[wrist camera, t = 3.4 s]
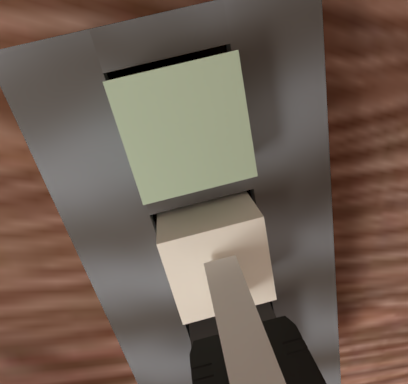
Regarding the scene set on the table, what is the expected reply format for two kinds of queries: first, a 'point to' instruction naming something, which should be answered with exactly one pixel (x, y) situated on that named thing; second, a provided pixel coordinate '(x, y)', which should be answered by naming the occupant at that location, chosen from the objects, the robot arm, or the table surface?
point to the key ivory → (213, 250)
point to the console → (143, 214)
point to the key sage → (184, 126)
